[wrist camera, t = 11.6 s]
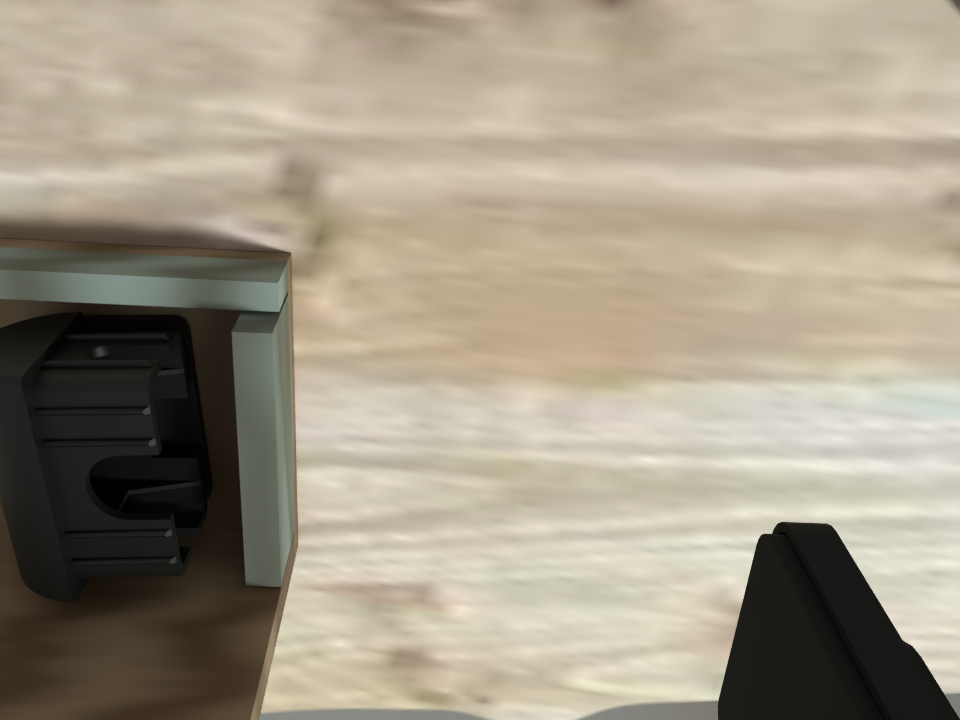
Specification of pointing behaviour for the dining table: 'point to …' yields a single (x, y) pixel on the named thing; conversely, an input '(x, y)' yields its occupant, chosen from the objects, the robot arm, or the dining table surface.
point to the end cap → (100, 448)
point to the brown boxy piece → (230, 508)
